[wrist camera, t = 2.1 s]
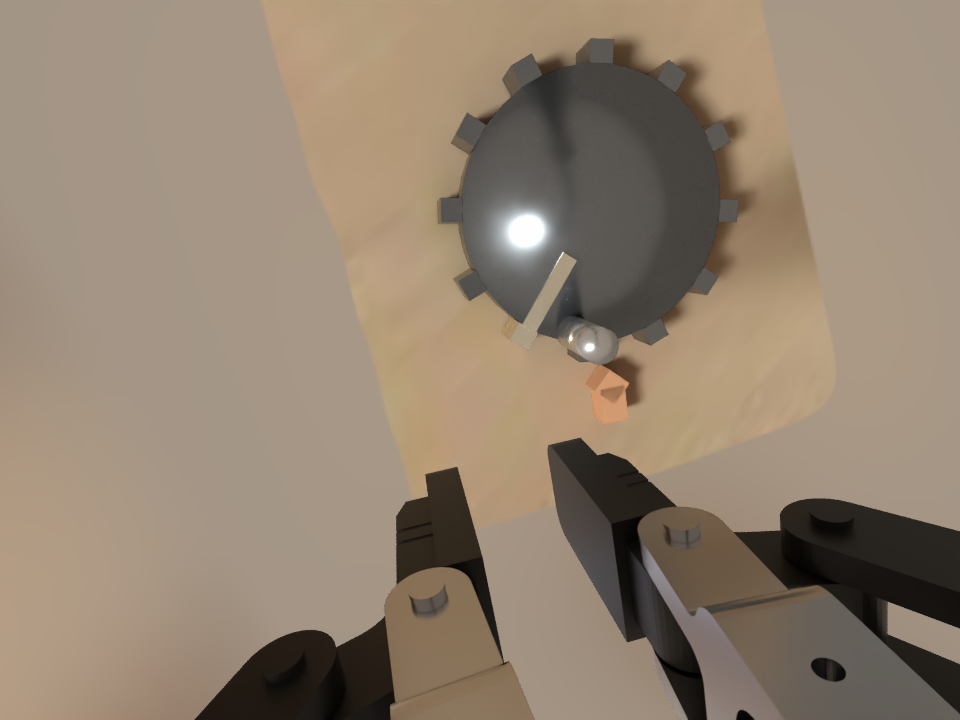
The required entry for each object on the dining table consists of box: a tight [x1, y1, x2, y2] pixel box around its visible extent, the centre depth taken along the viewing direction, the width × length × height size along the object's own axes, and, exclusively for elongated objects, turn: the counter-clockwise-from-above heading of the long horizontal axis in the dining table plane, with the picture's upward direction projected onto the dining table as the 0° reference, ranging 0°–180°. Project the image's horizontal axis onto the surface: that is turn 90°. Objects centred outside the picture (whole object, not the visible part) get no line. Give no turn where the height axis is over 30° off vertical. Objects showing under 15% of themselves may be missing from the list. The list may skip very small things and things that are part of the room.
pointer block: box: [586, 365, 629, 424], centre depth 29 cm, size 3×2×2 cm, turn 10°
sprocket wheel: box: [437, 38, 739, 365], centre depth 25 cm, size 15×15×6 cm
